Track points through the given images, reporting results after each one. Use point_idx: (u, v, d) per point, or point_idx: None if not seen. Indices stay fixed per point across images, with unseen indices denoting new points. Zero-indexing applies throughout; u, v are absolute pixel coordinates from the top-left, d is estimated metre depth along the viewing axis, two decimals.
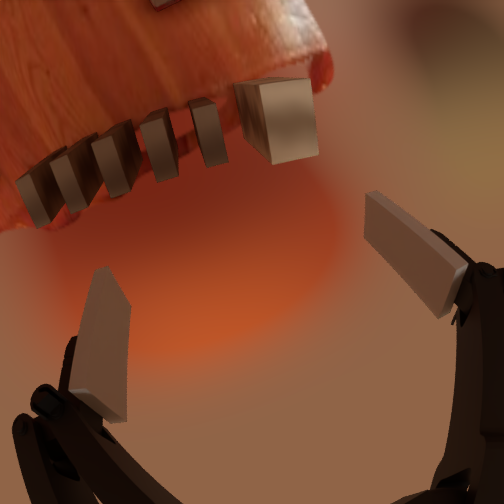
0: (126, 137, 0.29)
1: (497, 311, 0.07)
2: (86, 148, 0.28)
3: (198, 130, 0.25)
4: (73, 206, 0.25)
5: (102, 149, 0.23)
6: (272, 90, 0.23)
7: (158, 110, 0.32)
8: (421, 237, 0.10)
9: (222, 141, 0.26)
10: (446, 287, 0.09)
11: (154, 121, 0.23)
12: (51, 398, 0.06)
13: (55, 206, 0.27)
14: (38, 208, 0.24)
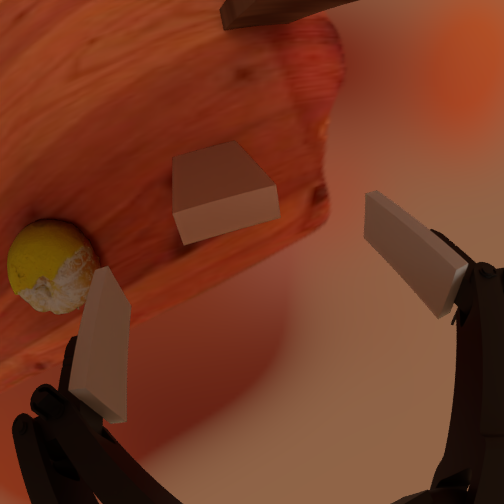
0: None
1: (497, 311, 0.07)
2: None
3: None
4: None
5: None
6: None
7: None
8: (421, 237, 0.10)
9: None
10: (446, 287, 0.09)
11: None
12: (51, 398, 0.06)
13: None
14: None
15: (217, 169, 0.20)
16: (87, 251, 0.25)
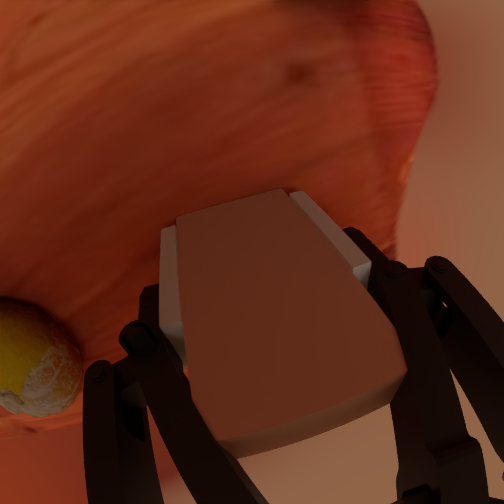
0: None
1: (415, 312, 0.08)
2: None
3: None
4: None
5: None
6: None
7: None
8: (326, 235, 0.11)
9: None
10: None
11: None
12: (145, 335, 0.08)
13: None
14: None
15: (272, 278, 0.10)
16: (59, 353, 0.15)
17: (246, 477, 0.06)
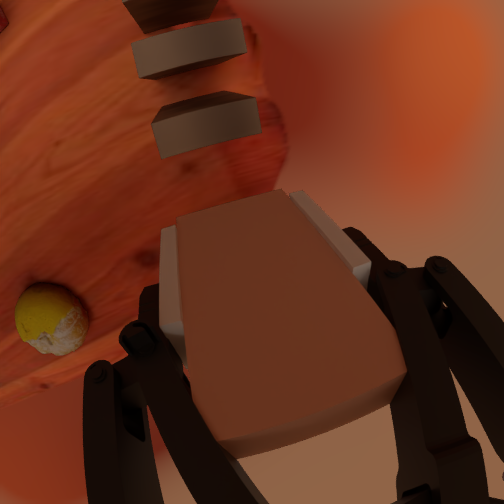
0: None
1: (415, 312, 0.08)
2: None
3: None
4: (233, 43, 0.13)
5: None
6: None
7: None
8: (326, 235, 0.11)
9: None
10: None
11: None
12: (145, 335, 0.08)
13: (233, 97, 0.17)
14: (222, 116, 0.15)
15: (272, 279, 0.10)
16: (77, 311, 0.31)
17: (246, 477, 0.06)
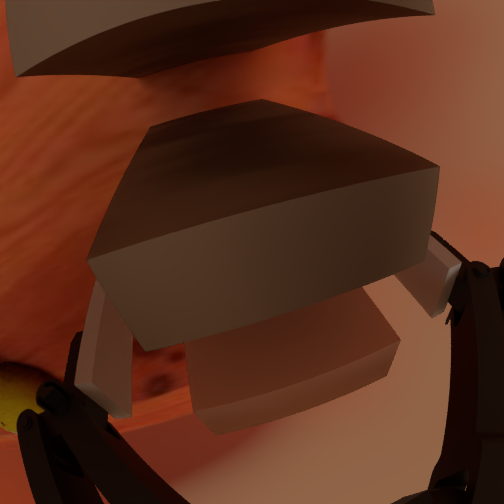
0: None
1: (491, 310, 0.07)
2: None
3: None
4: None
5: None
6: None
7: None
8: None
9: None
10: (439, 286, 0.09)
11: None
12: (57, 393, 0.07)
13: (339, 136, 0.06)
14: (347, 227, 0.04)
15: None
16: None
17: None
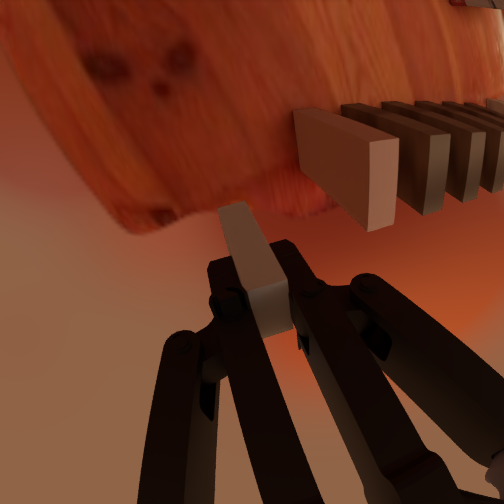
0: None
1: (340, 331, 0.08)
2: None
3: None
4: (468, 194, 0.18)
5: None
6: None
7: (454, 103, 0.25)
8: (251, 249, 0.11)
9: None
10: None
11: None
12: (237, 300, 0.09)
13: None
14: (439, 186, 0.17)
15: None
16: None
17: None
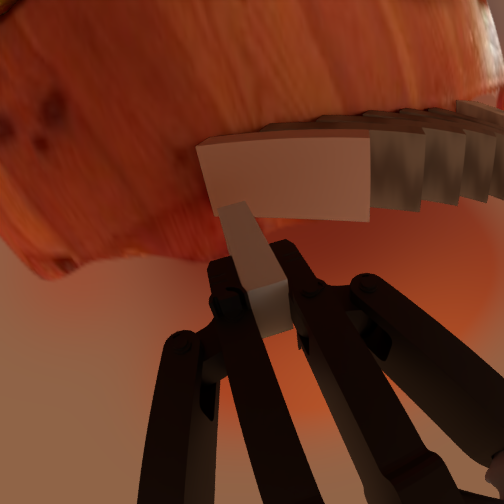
0: None
1: (341, 332, 0.08)
2: None
3: None
4: None
5: None
6: None
7: (414, 111, 0.22)
8: (251, 249, 0.11)
9: None
10: None
11: None
12: (237, 300, 0.09)
13: None
14: None
15: None
16: None
17: None
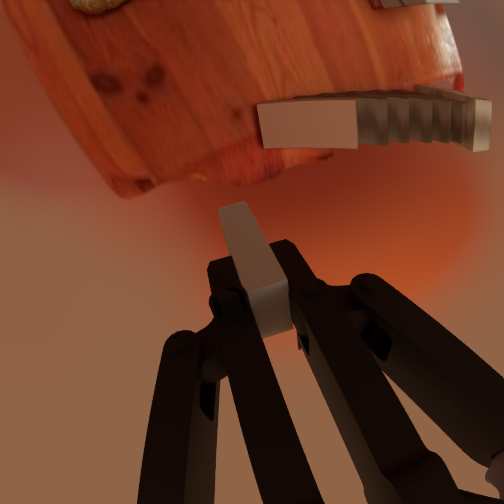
0: None
1: (341, 331, 0.08)
2: None
3: (462, 118, 0.28)
4: (408, 137, 0.32)
5: None
6: (479, 104, 0.26)
7: (381, 91, 0.35)
8: (251, 249, 0.11)
9: (465, 127, 0.30)
10: None
11: (450, 102, 0.28)
12: (237, 300, 0.09)
13: None
14: None
15: None
16: (115, 4, 0.20)
17: None
